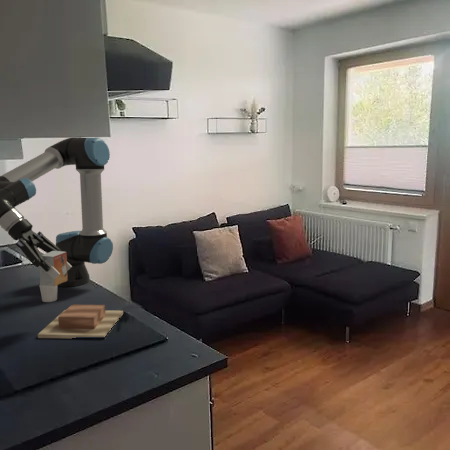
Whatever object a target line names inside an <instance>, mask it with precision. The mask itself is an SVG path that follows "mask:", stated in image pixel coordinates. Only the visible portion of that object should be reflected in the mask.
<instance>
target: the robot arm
mask: <svg viewBox="0 0 450 450" xmlns="http://www.w3.org/2000/svg"><path fill="white" fill-rule="evenodd" d="M110 153H111V152H110V149H109V146H108V144H107V143H106V142H105V141H104V140H103V139H102V138H100V137H95V138H81V137H68V138H64V139H63V140H60V141H58V142H56V143H54V144H53V145H50V146H48V147H47V148H45V150H44V152H42V153H40V154H39V155H37V156H35V157H33V158H31V159H30V160H28V161H26V162H24V163H22V164H21V165H19V166H16V167H15V168H13V169H11V170H9V171H8V172H6V173H4V174H2V175H0V227H1V229H3V230H4V232H7V234H8V235H9V236H10V238H11V239H13V241H16V242H15V246H16V247H18V248H19V249H20V250H21V252H22V253H23V254H24V255H25V257H26V258H27V259H28V260H29V262H30V263H31V264H32V265H33V266H35V267H36V268H40V266H41V267H42V268H43V269H44V270H45V271H46V272H47V273H48V274H49V275H50V276H51V277H52V278H53V279H56V278H57V277H58V276H59V275H60V273H59V272H58V271H57V270H56V269H55V268H54V267H53V266H52V265H51V264H50V263H49V262H48V261H47V260H45V261H44V259H43V257H42V255H43V254H42V253H41V252H40V250H41V251H43V252H44V253H45V254H46V253H49V252H51V251H63V252H67V281H65V282H63V283H61V284H58V285H57V287H77V286H82V285H85V284H87V283H89V282H90V279H91V278H90V273H89V271H88V268H87V267H86V264H85V263H88V264H89V263H90V264H92V265H95V264H98V265H99V264H100V265H102V264H105V263H106V262H107V261H108V260H109V259H110V257H111V256H112V255H113V250H114V244H113V241H112V240H111V238H109V237H108V232H107V231H106V230H105V229H104V220H103V216H104V215H103V200H102V199H103V196H102V194H103V193H102V173H103V171H104V170H105V165H107V164H108V162H109V160H110V155H111V154H110ZM74 165H75V171H76V172H78V173H79V181H80V184H79V186H80V203H81V206H80V207H81V222H82V225H81V227H82V229H81V230H75V231H74V230H73V231H68V232H62V233H58V234H57V235H56V236H55V244H54V242H52V241H51V240H50V239H49V238H47V237H46V236H45V235H44V234H43V232H41V231H38V232H34V230H33V226H34V225H33V224H32V223H31V222H30V221H29V220H28V219H26V218H25V216H24V215H23V214H22V213H21V212H20V211H19V210H18V209H17V208H16V207H17V206H19V205H21V204H22V203H25V202H27V201H29V200H30V199H31V198H33V197H35V196H36V194H37V188H36V185H35V183H34V181H36V180H37V179H39V178H41V177H42V176H45V175H46V174H48V173H49V172H51V171H53V170H55V169H56V170H57V169H61V168H63V167H65V166H66V167H67V166H74ZM39 249H40V250H39Z"/></svg>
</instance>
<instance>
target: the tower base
mask: <svg viewBox="0 0 450 450" xmlns="http://www.w3.org/2000/svg"><path fill="white" fill-rule="evenodd" d="M123 314H124V310H115V309H114V310H106V304H71V305H70V306H69V307H68V308H67V309H64V310H63V311H62V312H60V314H58V316H56V317H55V318H54V319H53V320H52V321H51V322H50V323H48V324H47V325H46V326H45V328H43V329H42V330H41V331H40V332H39V333H37V338H38V339H72V338H76V337H105V336H106V335H107V333H108V332H109V331H110V330H111V328H112V327H113V326H114V325H115V326H116V324H117V323H118V322H119V320H120V319H121V318H122V316H123ZM119 318H120V319H119ZM117 321H118V322H117ZM116 322H117V323H116ZM115 323H116V324H115ZM115 326H114V327H115ZM114 327H113V328H114ZM113 328H112V329H113ZM111 331H112V330H111ZM111 331H110V332H111ZM110 332H109V333H110ZM107 336H108V335H107Z"/></svg>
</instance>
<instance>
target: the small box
mask: <svg viewBox="0 0 450 450" xmlns="http://www.w3.org/2000/svg"><path fill="white" fill-rule="evenodd" d="M41 255H42V257H43V259H44V261H45V260H47V261H48V262H49V263H50V264H51V265H52V266H53V267H54V268H55V269H56V270H57V271H58V272H59V273H60V275H59V276H58V277H57V278H56V279H53V278H52V277H51V276H50V275H49V274H48V273H47V272H46V271H45V270H44V269H43V268H42V267H41V266H39V279H40V280H39V281H40V283H39V284H40V285H43V286H53V287H55V286H56V285H57V286H58V284H61V283H63V282H65V281H67V252H63V251H51V252H49V253H46V252H45V253H43V254H41Z"/></svg>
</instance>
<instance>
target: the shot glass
mask: <svg viewBox="0 0 450 450" xmlns="http://www.w3.org/2000/svg"><path fill="white" fill-rule="evenodd" d="M39 289H40V295H41V301H42V302H44V303H51V302H56V301H57V300H58V285H56V286H55V287H53V286H43V285H40V283H39Z"/></svg>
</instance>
